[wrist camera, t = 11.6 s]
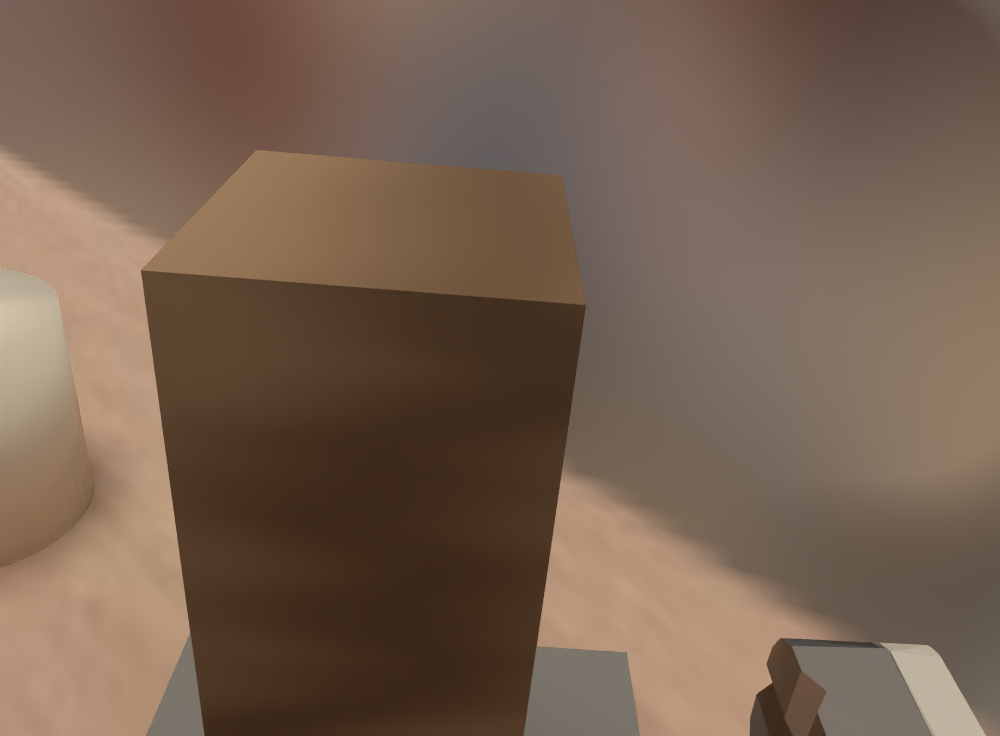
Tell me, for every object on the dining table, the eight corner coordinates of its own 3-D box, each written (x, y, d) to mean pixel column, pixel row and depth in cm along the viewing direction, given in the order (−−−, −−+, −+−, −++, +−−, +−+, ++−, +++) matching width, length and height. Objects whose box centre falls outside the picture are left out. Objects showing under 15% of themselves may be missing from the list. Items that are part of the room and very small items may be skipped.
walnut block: (236, 969, 13) (141, 269, 8) (292, 747, 17) (256, 149, 11) (487, 982, 14) (585, 304, 8) (492, 759, 17) (562, 175, 11)
